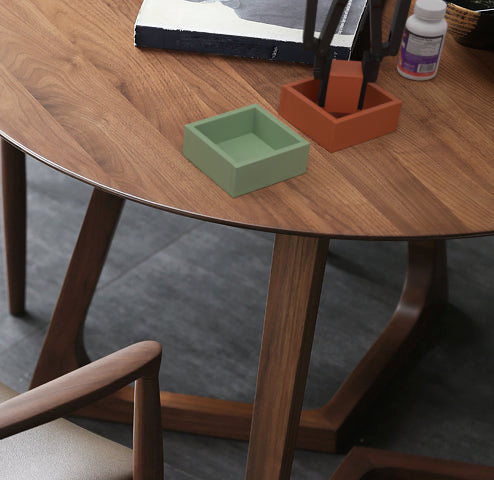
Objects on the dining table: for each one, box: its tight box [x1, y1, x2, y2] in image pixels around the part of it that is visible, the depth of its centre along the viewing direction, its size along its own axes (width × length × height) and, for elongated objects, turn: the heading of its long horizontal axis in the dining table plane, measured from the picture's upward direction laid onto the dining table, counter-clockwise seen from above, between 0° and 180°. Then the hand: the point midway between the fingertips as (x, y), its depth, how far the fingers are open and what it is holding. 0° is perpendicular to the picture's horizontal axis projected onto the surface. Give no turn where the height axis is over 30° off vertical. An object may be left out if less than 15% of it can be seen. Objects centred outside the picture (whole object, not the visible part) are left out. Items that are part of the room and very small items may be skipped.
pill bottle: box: [396, 0, 448, 82], centre depth 143 cm, size 5×5×10 cm
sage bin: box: [182, 102, 311, 199], centre depth 128 cm, size 11×11×4 cm
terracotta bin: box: [277, 75, 403, 154], centre depth 135 cm, size 11×11×4 cm
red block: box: [324, 59, 363, 114], centre depth 133 cm, size 4×4×5 cm
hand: (339, 102), depth 135 cm, fingers closed on red block, 4 cm apart
